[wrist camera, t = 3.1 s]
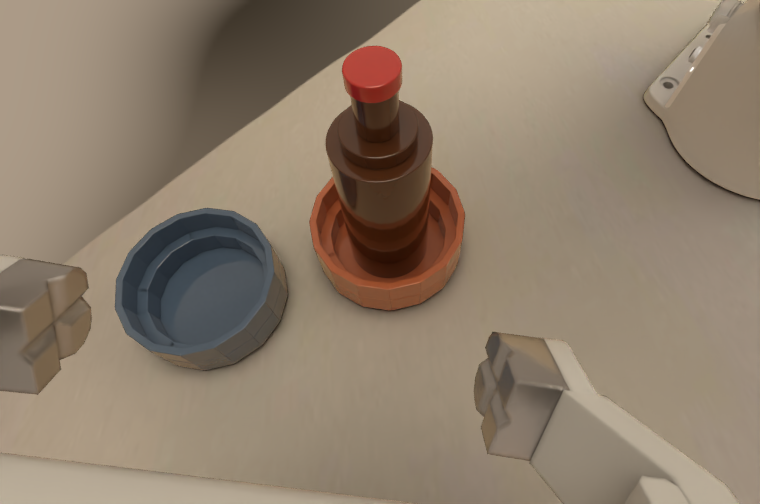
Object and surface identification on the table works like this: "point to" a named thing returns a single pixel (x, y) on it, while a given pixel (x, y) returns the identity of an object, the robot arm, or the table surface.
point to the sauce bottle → (381, 166)
